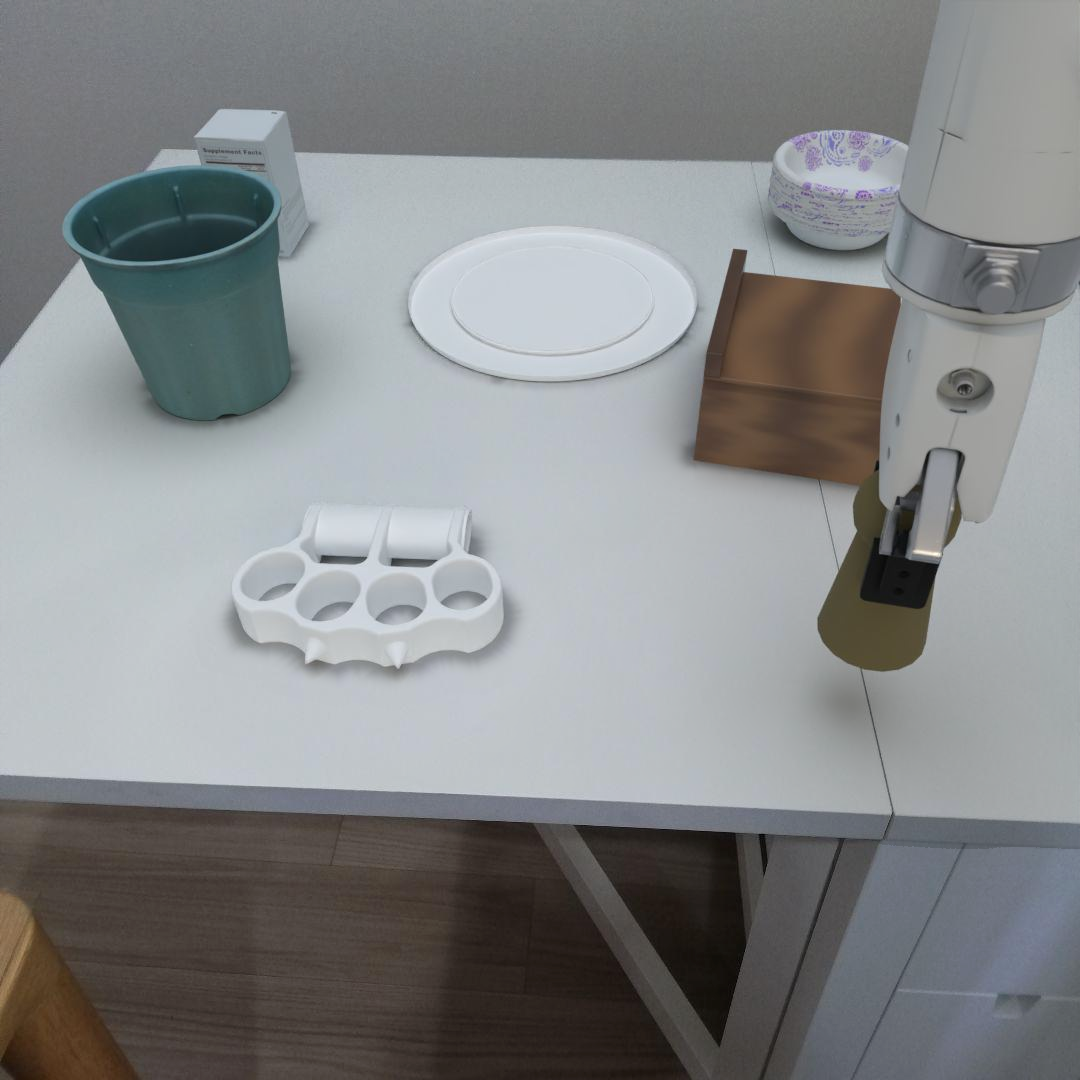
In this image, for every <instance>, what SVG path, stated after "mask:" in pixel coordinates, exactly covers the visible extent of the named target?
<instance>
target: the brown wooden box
mask: <svg viewBox="0 0 1080 1080" xmlns="http://www.w3.org/2000/svg"><path fill="white" fill-rule="evenodd" d="M747 257H748V249H741V248H732V252H731V256H730V260H729V263H728V267H727V271H726V275H725V279H724V282H723V286H722V290H721V294H720V298H719V302H718V307H717V310H716V313H715V318H714V322H713V326H712V329H711V333H710V337H709V340H708V344H707V348H706V353H705V361H704V369H703V376H702V377H703V378H702V385H701V393H700V394H701V395H700V401H699V402H700V403H699V409H698V410H699V411H698V418H697V426H696V435H695V443H694V452H693V461H695V462H701V463H702V462H703V463H708V464H716V465H722V466H729V467H735V468H741V469H749V470H755V471H761V472H768V473H773V474H780V475H787V476H794V477H801V478H806V479H807V478H808V479H812V480H813V479H814V480H821V481H825V482H826V481H828V482H833V483H840V484H846V485H854V486H859V487H860V486H861V484H862V483H863V481H864V480H865V479H866V478H868V477H869V476H870V475H871V474H873V473H874V469H875V465H876V461H879V458H880V424H881V407H882V397H883V389H884V382H885V375H886V369H887V364H888V358H889V354H890V349H891V344H892V340H893V335H894V331H895V327H896V322H897V318H898V314H899V310H900V306H901V302H902V298H901V297H900V296H898V295H897V294H896V293H895V292H894V291H893V290H892V289H891V288H890V287H880V286H879V287H878V286H871V285H863V284H854V283H844V282H835V281H827V280H820V279H819V280H818V279H809V278H800V277H793V276H792V277H791V276H783V275H774V274H767V273H766V274H765V273H757V272H748V271H746V264H747Z"/></svg>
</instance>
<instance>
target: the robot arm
mask: <svg viewBox="0 0 1080 1080" xmlns="http://www.w3.org/2000/svg"><path fill="white" fill-rule="evenodd" d="M932 35H933V36H932V38H931V44H930V48H929V52H928V57H927V61H926V64H925V65H926V66H925V71H924V75H923V79H922V84H921V88H920V93H919V97H918V101H917V106H916V111H915V116H914V120H913V124H912V128H911V132H910V137H909V142H908V146H909V147H908V151H907V156H906V160H905V167H904V170H903V174H902V179H901V184H900V188H899V192H898V196H897V201H896V205H895V210H894V214H893V219H892V223H891V228H890V232H889V233H888V237H887V241H886V246H885V253H884V257H883V259H882V260H883V261H882V264H881V273H882V276H883V279H884V281H885V283H886V284H887V285H888V286H889V289H892V290H893V291H894V292H895V293H896V294H897V295H898V296H900V297H901V306H900V310H899V314H898V318H897V322H896V327H895V331H894V335H893V340H892V344H891V349H890V354H889V358H888V364H887V369H886V375H885V382H884V389H883V397H882V407H881V424H880V458H879V461H876V465H875V469H874V472H876V471H877V470H879V497H880V500H881V502H882V503H883V504H884V506H885V507H886V508H887V511H886V516H885V520H884V525H883V529H882V534H881V538H875V537H874V539H873V543H872V546H871V550H870V554H869V557H868V561H867V565H866V568H865V572H864V576H863V580H862V583H861V587H860V598H861V599H862V600H864V601H869V602H875V603H881V604H888V605H894V606H900V607H907V608H913V609H921V608H923V607H925V605H926V602H927V600H928V597H929V594H930V591H931V588H932V585H933V582H934V579H935V580H936V578H935V576H936V577H937V573H938V571H939V568H940V564H941V561H942V559H943V556H944V550H945V548H946V547H945V543H946V539H947V535H948V531H949V527H950V523H951V519H952V515H953V512H954V508H955V504H956V500H957V496H958V498H959V503H960V507H961V512H962V519H963V520H962V521H963V522H970V523H971V522H972V523H975V524H982V523H985V522H986V521H988V519H989V518H990V517H991V516H992V514H993V512H994V511H995V506H996V503H997V501H998V497H999V495H1000V491H1001V488H1002V484H1003V481H1004V479H1005V475H1006V472H1007V469H1008V465H1009V462H1010V459H1011V456H1012V454H1013V451H1014V447H1015V444H1016V441H1017V438H1018V434H1019V431H1020V427H1021V424H1022V421H1023V418H1024V414H1025V411H1026V407H1027V404H1028V401H1029V398H1030V393H1031V390H1032V385H1033V382H1034V378H1035V374H1036V370H1037V365H1038V362H1039V356H1040V353H1041V347H1042V343H1043V336H1044V332H1045V326H1046V319H1048V318H1050V317H1051V318H1052V317H1054V316H1055V315H1056V314H1059V313H1060V312H1062V311H1063V310H1065V308H1067V307H1068V306H1069V305H1070V303H1071V302H1072V300H1073V298H1074V296H1075V294H1076V290H1077V288H1078V284H1079V282H1080V0H940V3H939V7H938V12H937V17H936V20H935V26H934V29H933V34H932ZM915 485H920V487H919V491H912V490H911V489H912V488H913V487H914V486H915ZM902 510H907V511H914V512H915V517H914V522H913V526H912V529H911V531H910V530H903V529H902V530H898V531H897V529H898V525H899V521H900V516H901V512H902ZM944 547H945V548H944Z"/></svg>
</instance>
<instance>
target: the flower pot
mask: <svg viewBox="0 0 1080 1080" xmlns="http://www.w3.org/2000/svg"><path fill="white" fill-rule="evenodd" d="M281 204H282V202H281V196H280V193H279V191H278V190H277V188H276V187H275V186H274V185H273V184H272V183H271V182H270V181H268V180H267V179H265V178H263V177H261V176H260V175H257V174H255V173H252V172H249V171H246V170H242V169H237V168H232V167H224V166H212V165H201V164H197V165H196V164H195V165H191V164H190V165H177V166H167V167H161V168H157V169H151V170H146V171H143V172H138V173H135V174H134V173H133V174H131V175H127V176H125V177H122V178H119V179H117V180H113V181H111V182H109V183H107V184H104V185H102V186H100V187H98V188H95V189H94V190H92V191H91V192H88V193H87V194H86V195H85V196H83V197H82V198H80V199H79V200H78V201H76V203H74V204H73V205H72V207H71V208H70V209H69V211H67V214H65V216H64V219H63V221H62V224H61V233H62V236H63V239H64V240H65V242H66V244H67V246H68V247H69V248H70V249H71V250H72V251H73V252H74V253H75V254H77V255H78V256H79V257H80V260H81V261H82V264H83V265H84V268H85V269H86V270H87V273H88V275H89V277H90V279H91V281H92V283H93V284H94V285H95V287H96V288H97V289H98V290H99V291H100V292H101V293H102V295H103V296H104V299H105V301H106V302H107V305H108V307H109V309H110V311H111V313H112V315H113V317H114V320H115V321H116V324H117V326H118V328H119V330H120V332H121V334H122V336H123V338H124V340H125V342H126V344H127V346H128V349H129V350H130V352H131V354H132V357H133V359H134V361H135V363H136V366H137V367H138V369H139V371H140V373H141V375H142V377H143V380H144V382H145V384H146V387H147V388H148V390H149V392H150V394H151V396H152V398H153V401H155V403H156V404H157V405H158V406H159V407H160V408H162V409H163V410H164V411H166V412H167V413H170V414H171V415H173V416H177V417H180V418H183V419H189V420H193V421H216V420H217V419H219V417H221V416H223V415H233V414H234V415H236V416H241V415H245V414H248V413H250V412H253V411H255V410H257V409H260V408H261V407H263V406H264V405H266V404H268V403H269V402H271V401H272V400H274V399H275V398H276V397H277V396H278V395H280V393H281V392H283V390H284V389H285V387H286V386H287V384H288V382H289V381H290V377H291V375H292V374H291V373H292V367H291V366H292V365H291V357H290V349H289V341H288V334H287V333H288V332H287V325H286V317H285V310H284V302H283V294H282V292H283V291H282V285H281V276H280V275H281V274H280V266H279V257H280V256H279V252H280V242H279V231H278V217H279V215H280V212H281Z"/></svg>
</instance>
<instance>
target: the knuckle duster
mask: <svg viewBox="0 0 1080 1080" xmlns="http://www.w3.org/2000/svg"><path fill="white" fill-rule="evenodd" d="M472 527H473V511H472V509H471V508H468V506H463V505H462V506H461V505H459V506H457V507H456V508H455V507H454V508H453V507H432V506H407V505H406V506H403V505H398V504H397V503H388V504H386V505H380V504H379V505H378V504H355V503H354V504H353V503H329V502H328V501H326V500H325V501H324V500H318V501H317V502H312V503H311V504H310V505H309V506H308V507H307V509H306V512H305V514H304V517H303V521H302V524H301V530H300V533H299V535H298V536H296V537H295V538H293V539H292V540H291V541H289V542H287V544H285V545H282V546H274V547H272V548H271V547H270V548H268V549H267V548H266V549H265V550H262V551H260V552H258V553H256V554H254V555H253V556H250V557H249V558H248V559H247V560H245V561H244V562H243V563H242V564H241V565H240V566H239V567H238V569H237V570H236V572H235V573H234V575H233V578H232V580H231V584H230V594H231V598H232V600H233V604H234V606H235V609H236V613H237V615H238V618H239V620H240V624H241V626H242V629H243V630H244V632H245V633H246V634H247V636H248V637H249V638H250V639H251V640H253V641H255V642H256V643H259V644H266V643H283V644H284V643H285V644H287V645H288V644H289V645H291V646H294V647H296V648H298V650H300V651H302V652H303V653H304V666H306V665H308V664H310V663H311V662H314V661H315V660H316V661H320V662H324V663H327V664H331V665H333V666H334V665H337V664H340V663H344V662H350V661H366V662H370V663H375V664H377V665H378V666H382V667H383V668H387V667H393V666H395V667H396V669H397V670H399V669H400V667H401V666H402V665H406V664H413V663H415V662H417V661H418V660H420V659H422V658H424V657H425V656H427V655H431V654H433V653H436V652H441V651H443V652H444V651H457V652H463V653H466V654H471V653H474V652H477V651H479V650H481V649H483V648H485V647H486V646H488V645H489V644H490V643H492V642H493V641H494V640H495V639H496V637H497V636H498V635H499V633H500V632H501V630H502V628H503V624H504V619H505V610H504V594H503V583H502V579H501V576H500V573H499V572H498V570H497V569H496V568H495V566H493V565H492V564H491V563H490V562H489V561H487V560H485V559H484V558H482V557H480V556H477V555H474V554H470V553H469V551H470V546H471V537H472ZM323 556H330V557H331V556H335V557H356V558H366V559H365V560H363V561H362V562H360V563H357V564H349V563H347V564H345V563H323V562H322V563H321V560H322V557H323ZM393 559H405V560H406V559H409V560H433V561H434V563H432V564H431V565H429V566H426V567H416V566H394V565H392V562H393ZM435 560H436V561H435ZM287 584H292V585H295V586H294V587H293V588H292V589H291V590H290V591H289V592H287V593H286V594H284V595H282V596H280V597H278V598H275V599H270V600H261V599H262V597H263V596H264V595H265V594H266V593H267V592H269V591H270V590H272V589H274V588H276V587H278V586H282V585H287ZM461 592H472V593H476V594H479V595H481V596H482V597H484V598H486V600H484V602H482V603H480V604H479V605H476V606H474V607H471V608H467V609H457V608H451V607H448V606H446V605H444V604H442V602H443V601H444V600H445V599H446V598H448V597H449V596H451V595H453V594H457V593H461ZM338 603H348V604H349V603H350V604H351V606H350V608H349V609H348V610H347V611H346V612H344V613H343V614H342V615H340V616H338V617H335V618H333V619H329V620H322V621H321V620H320V621H319V620H313V618H315V616H316V615H317V613H319V612H320V611H322V609H324V608H326V607H328V606H331V605H333V604H338ZM397 606H412V607H415V608H417V609H419V610H421V612H420V614H419V615H418V616H416V617H415V618H413V619H411V620H409V621H407V622H404V623H398V624H387V623H384V622H381V621H378V620H376V619H377V618H378V617H379V616H380V615H381V614H382V613H383V612H385V611H386V610H388V609H391V608H393V607H397Z"/></svg>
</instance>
